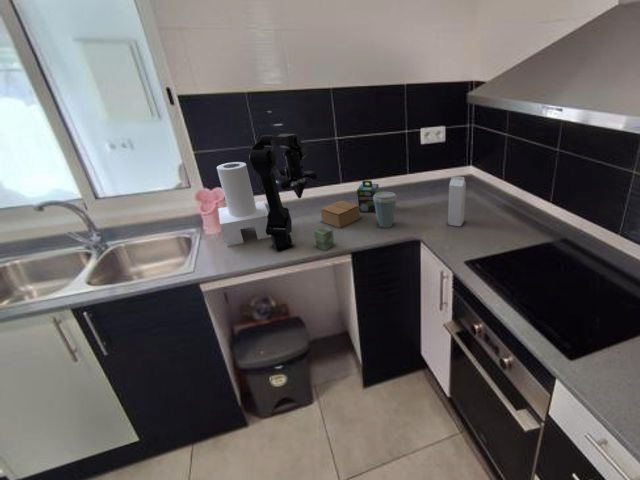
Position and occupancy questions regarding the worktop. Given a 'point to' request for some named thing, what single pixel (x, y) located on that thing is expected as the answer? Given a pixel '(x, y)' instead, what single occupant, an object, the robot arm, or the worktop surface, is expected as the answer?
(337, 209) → the flap
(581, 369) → the worktop surface
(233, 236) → the paper towel holder
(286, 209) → the robot arm
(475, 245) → the worktop surface
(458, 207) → the milk
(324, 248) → the block
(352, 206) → the carton
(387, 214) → the disposable coffee cup
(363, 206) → the chalk box
